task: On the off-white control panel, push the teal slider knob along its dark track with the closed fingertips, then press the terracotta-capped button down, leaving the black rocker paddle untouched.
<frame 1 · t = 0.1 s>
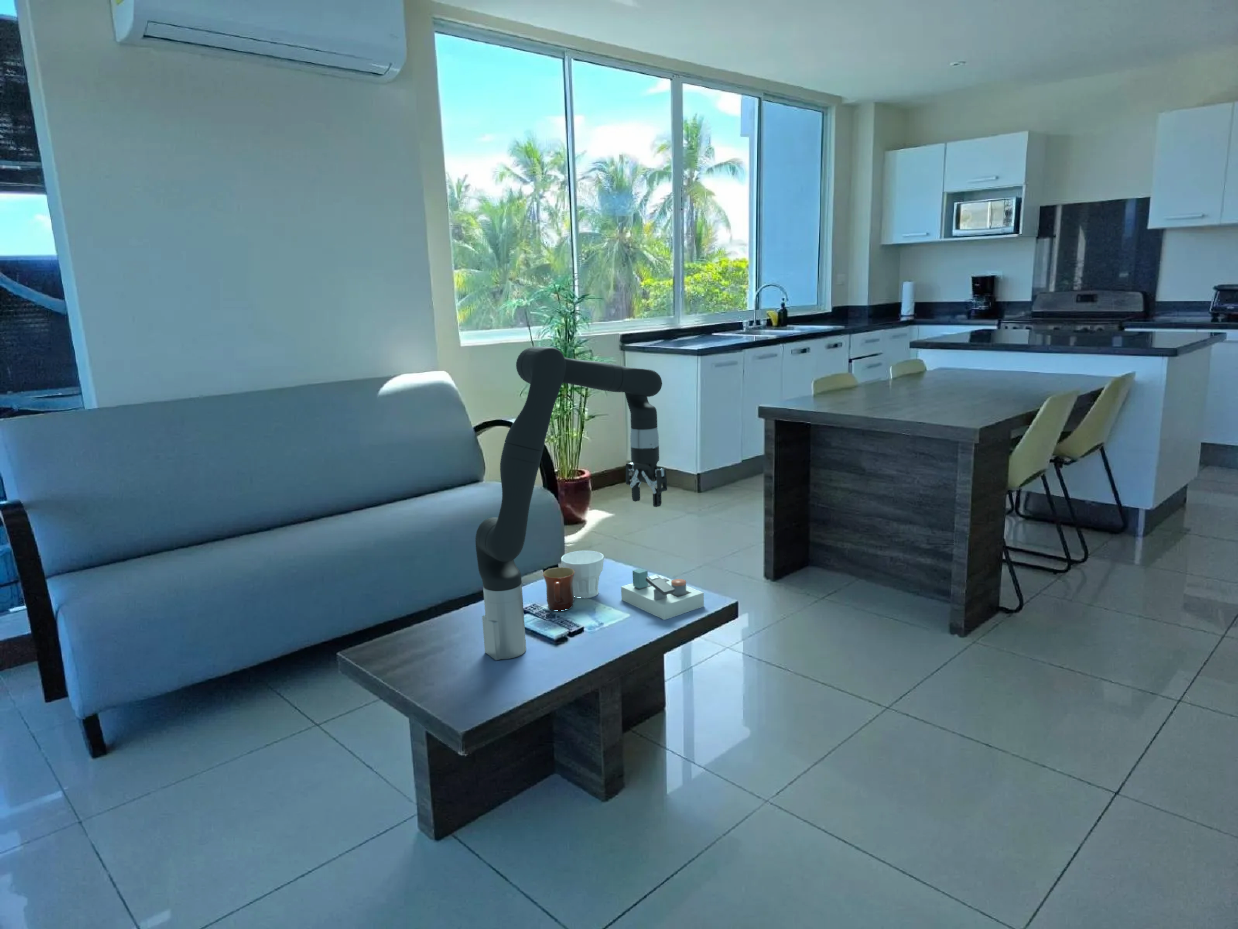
hand: (646, 503, 213), 29 cm above the table, fingers open, 8 cm apart
rocker: (660, 584, 211), point 8 cm above the table, hinge at 15.0°
panel: (662, 603, 220), on the table
cup: (584, 594, 229), on the table
mug: (560, 610, 218), on the table
push button: (678, 590, 216), point 5 cm above the table, slide at 0.0 cm
slider knob: (640, 578, 220), point 7 cm above the table, slide at 0.0 cm
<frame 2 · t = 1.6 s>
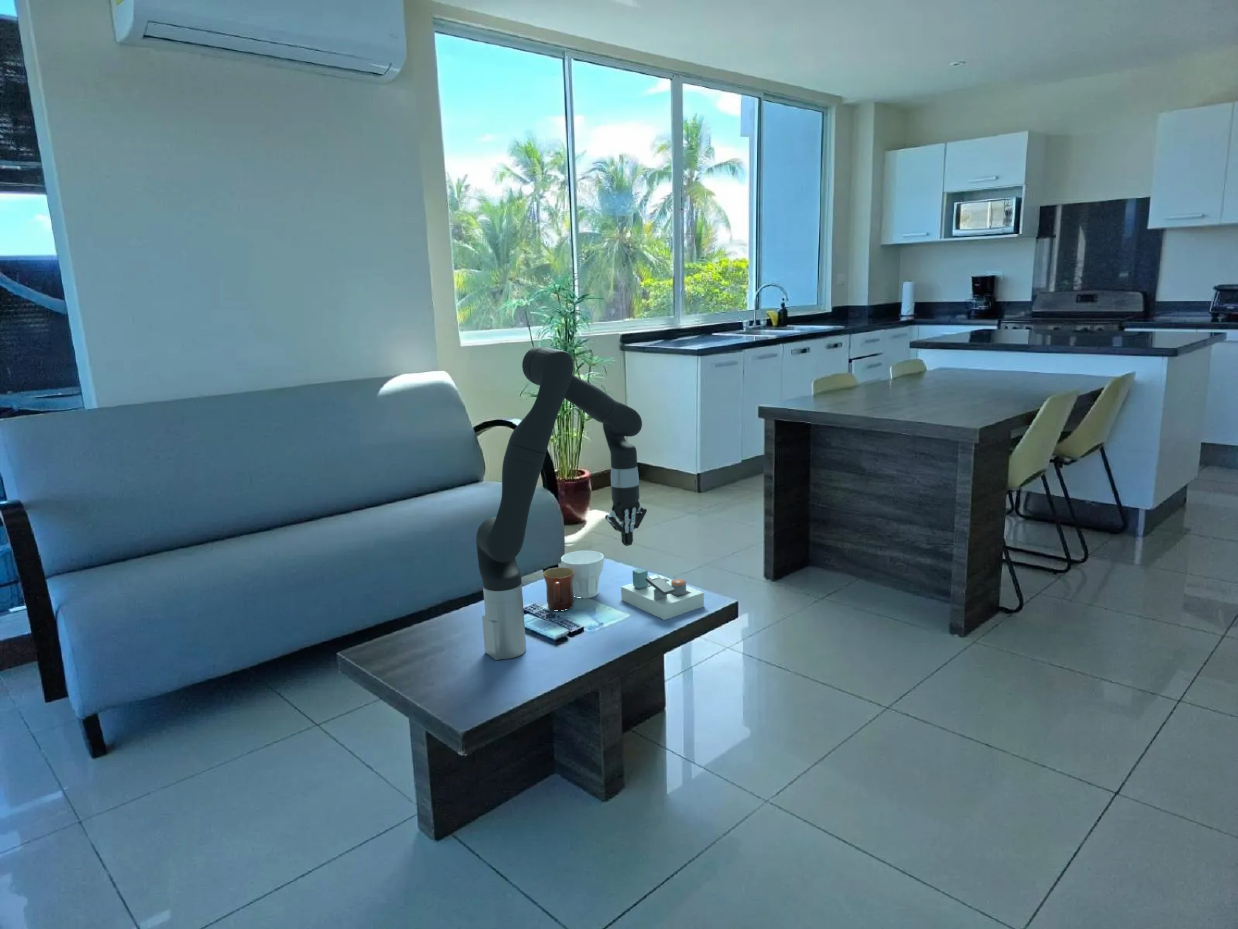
hand: (627, 544, 216), 17 cm above the table, fingers closed
nothing on the table moved.
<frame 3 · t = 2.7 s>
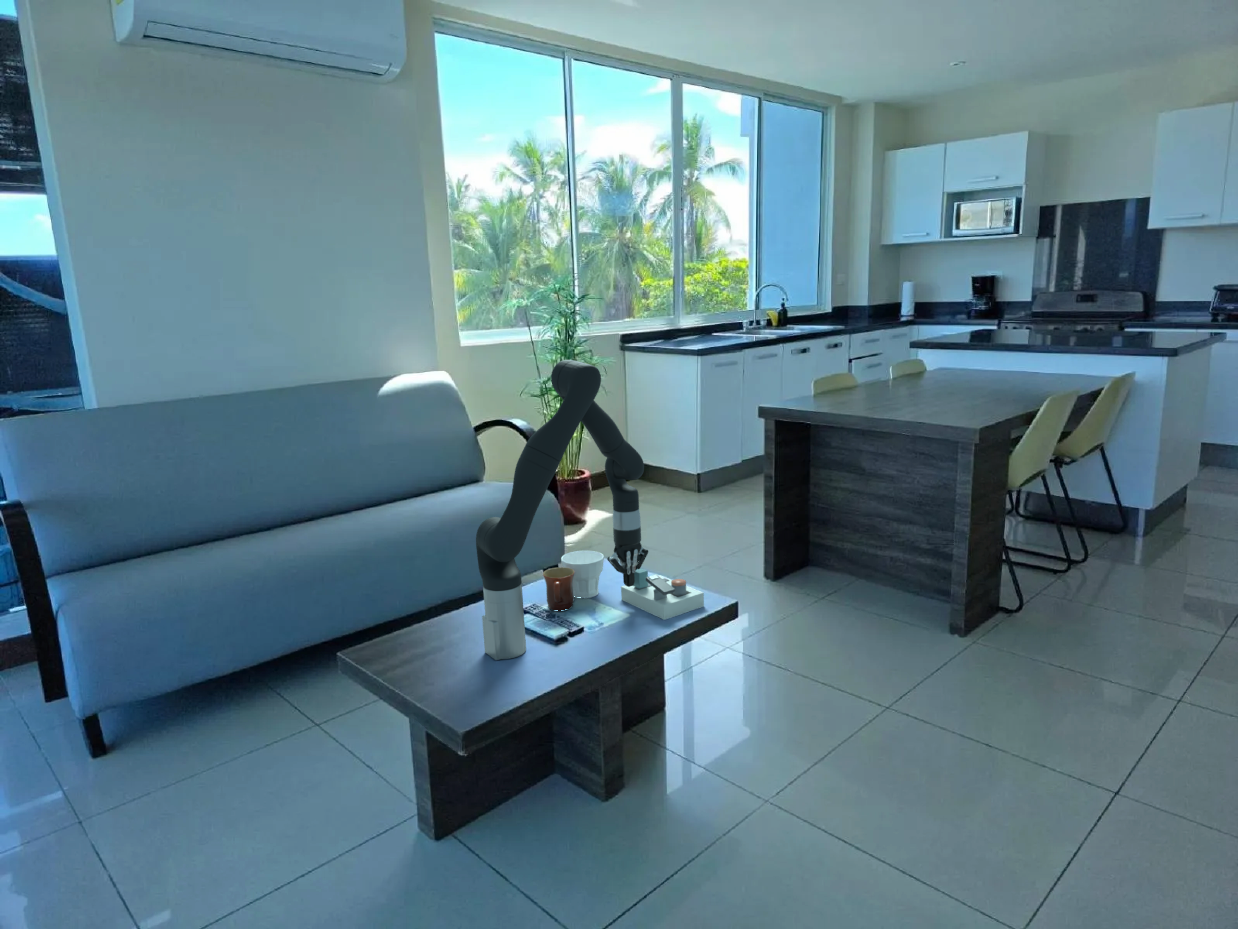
hand: (629, 585, 218), 6 cm above the table, fingers closed
slider knob: (640, 578, 220), point 7 cm above the table, slide at 0.0 cm, touching gripper
everything else where it was.
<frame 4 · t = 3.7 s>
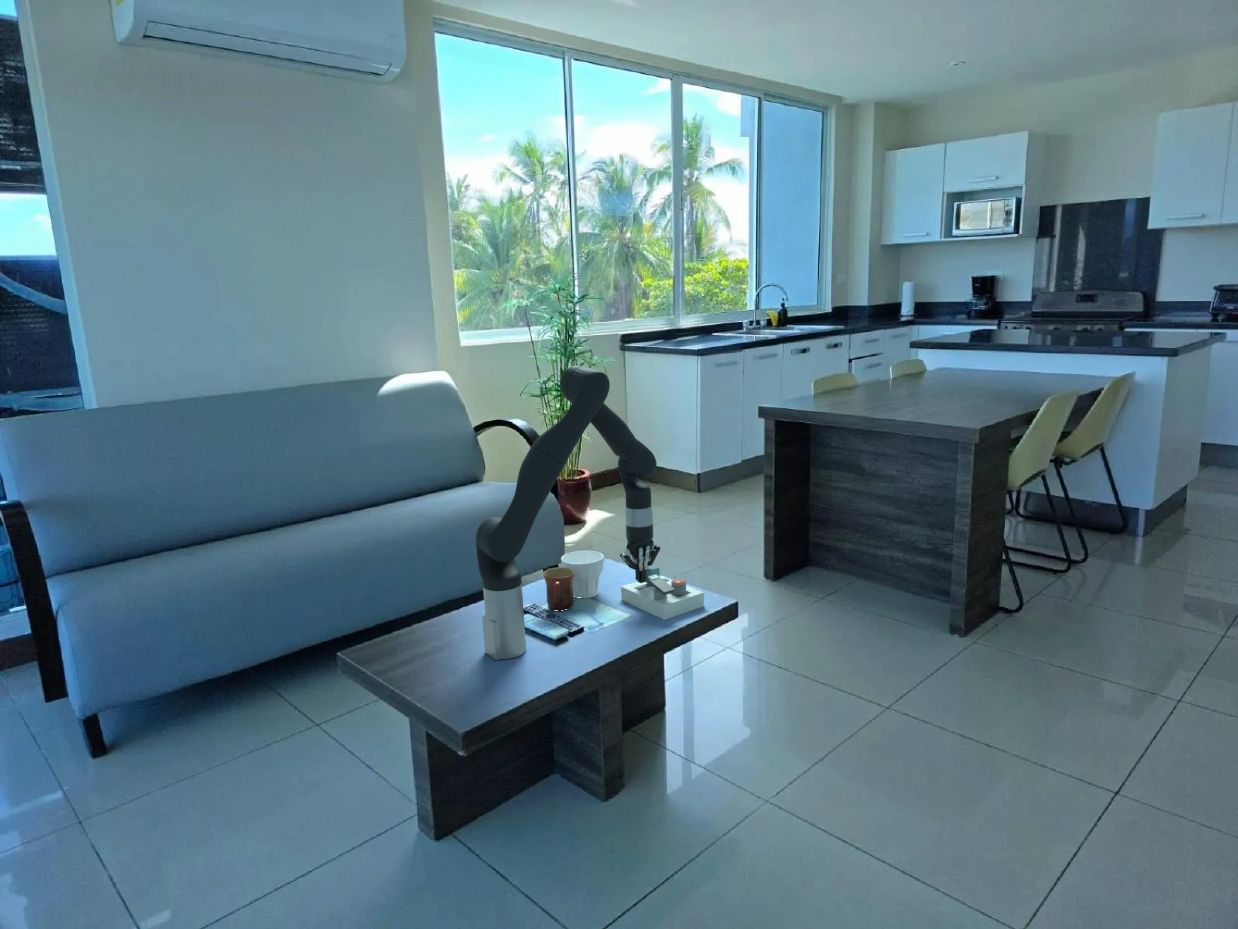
hand: (641, 581, 220), 6 cm above the table, fingers closed
slider knob: (652, 574, 223), point 7 cm above the table, slide at 4.3 cm, touching gripper
everything else where it was.
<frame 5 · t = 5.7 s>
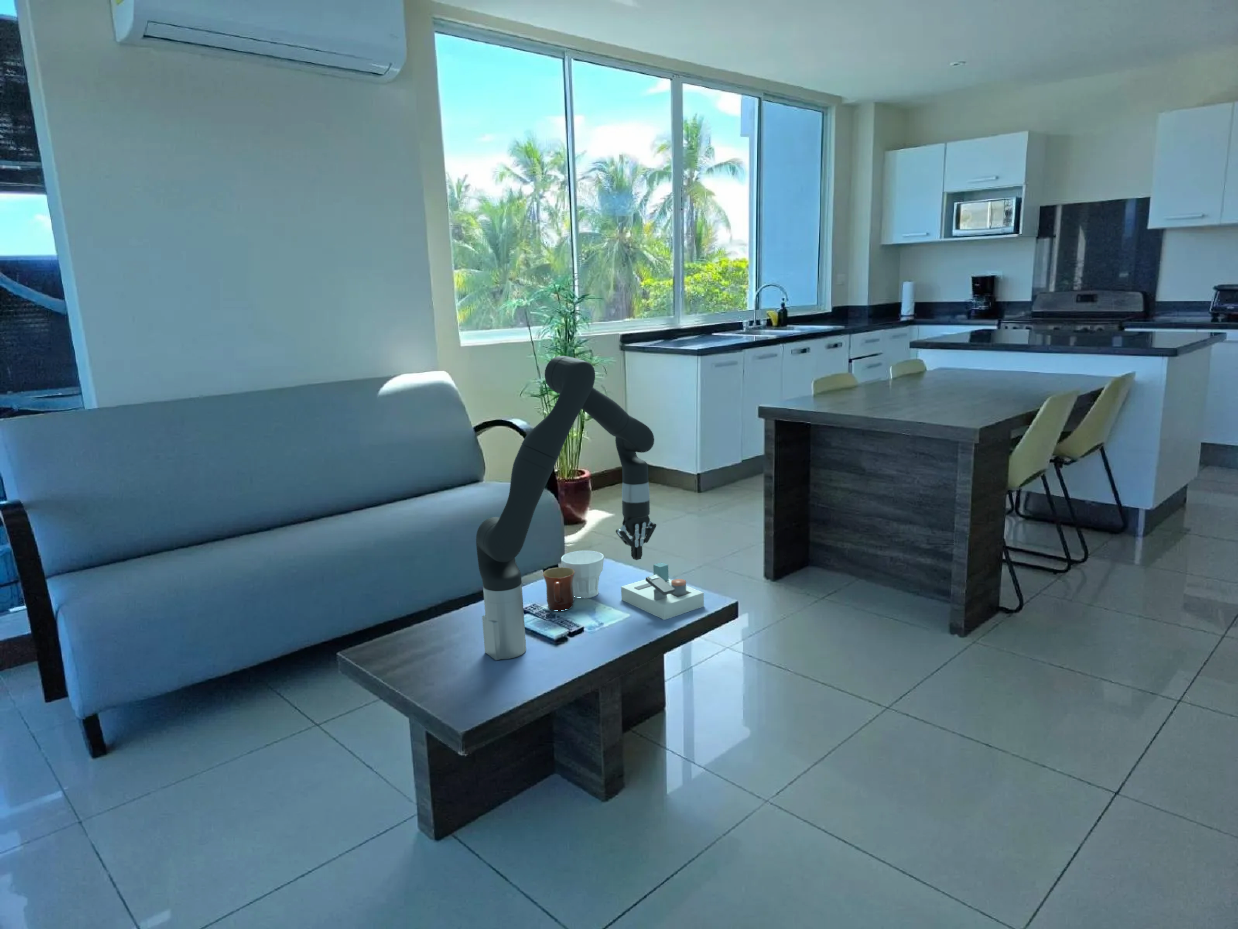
hand: (636, 558, 219), 13 cm above the table, fingers closed
slider knob: (660, 572, 224), point 7 cm above the table, slide at 7.4 cm
everything else where it was.
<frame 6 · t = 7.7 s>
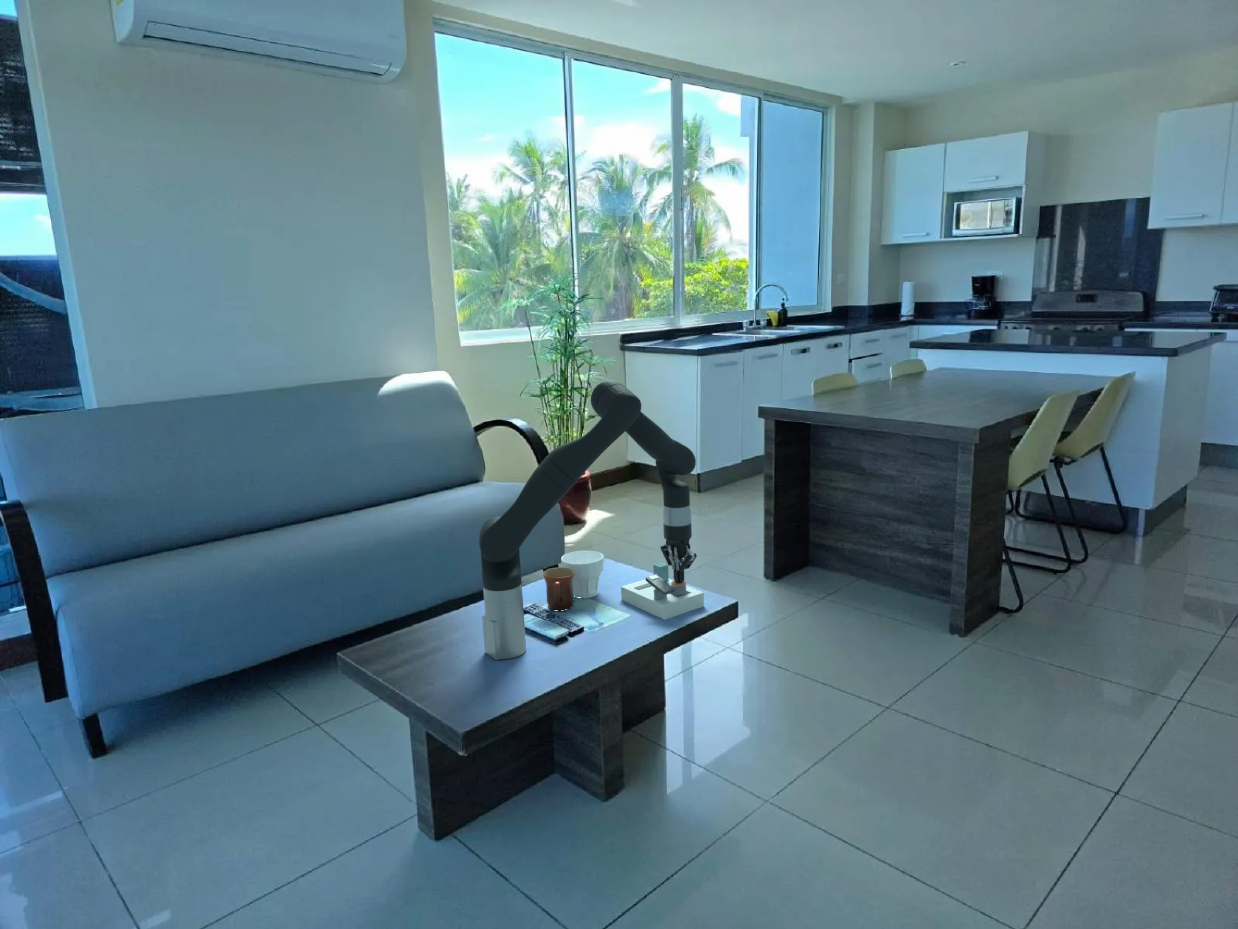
hand: (679, 582, 215), 7 cm above the table, fingers closed
push button: (678, 591, 216), point 4 cm above the table, slide at 0.2 cm, touching gripper
everything else where it was.
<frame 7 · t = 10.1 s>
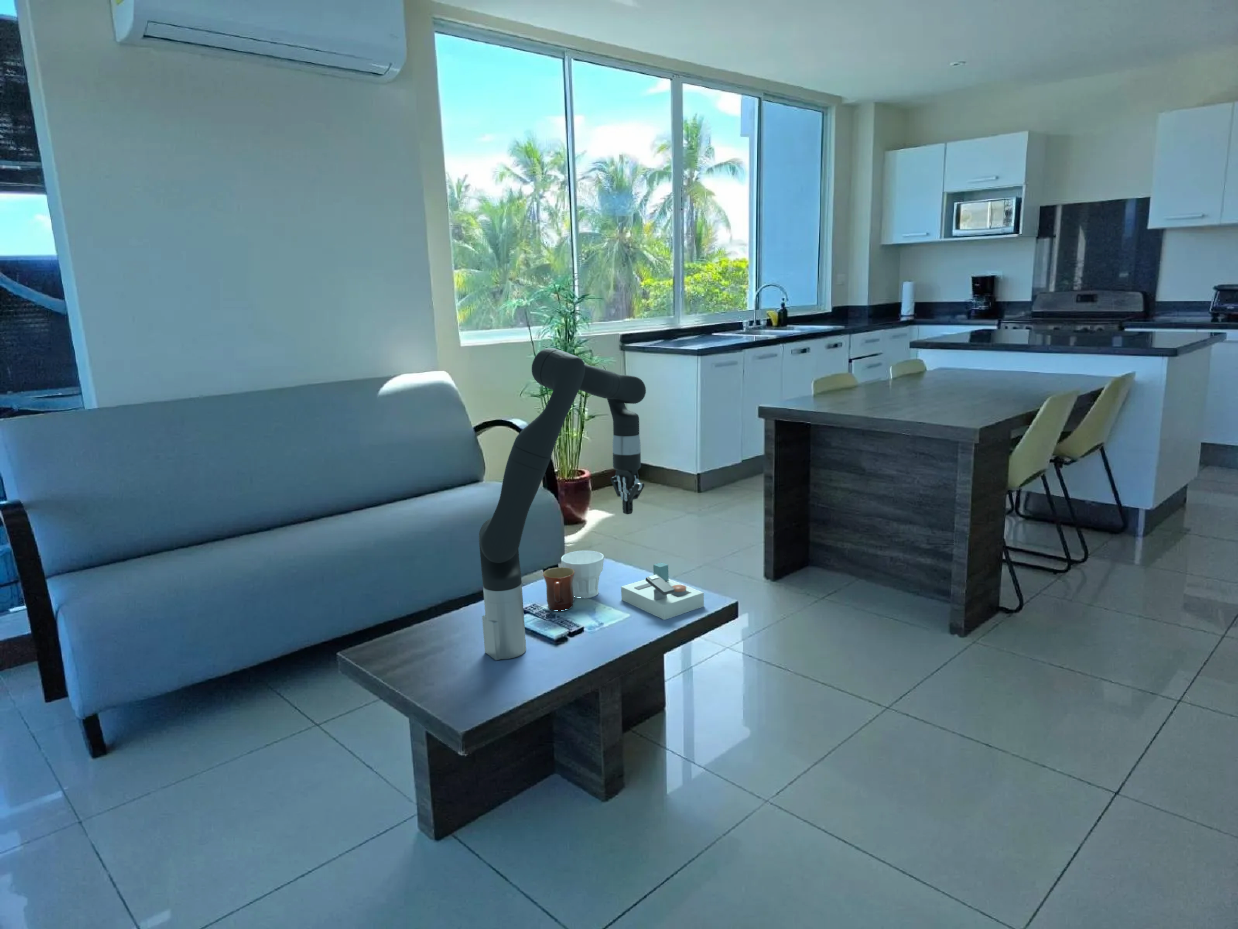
hand: (627, 513, 216), 26 cm above the table, fingers closed
push button: (679, 596, 216), point 3 cm above the table, slide at 1.7 cm
everything else where it was.
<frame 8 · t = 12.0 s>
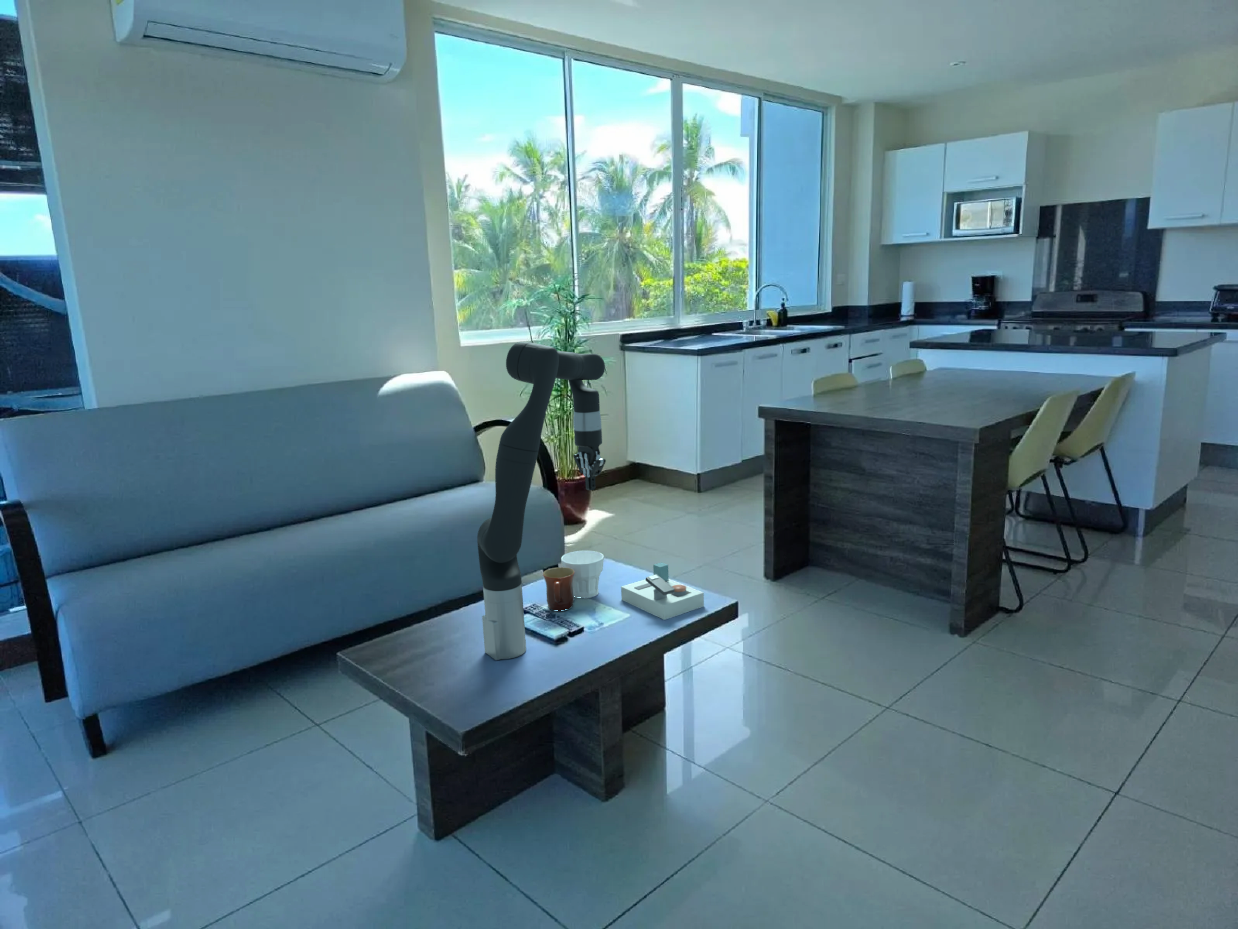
hand: (590, 489, 218), 32 cm above the table, fingers closed
nothing on the table moved.
at the end: slider knob slide at 7.4 cm; push button slide at 1.7 cm; rocker at +15° (first picture: +15°) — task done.
